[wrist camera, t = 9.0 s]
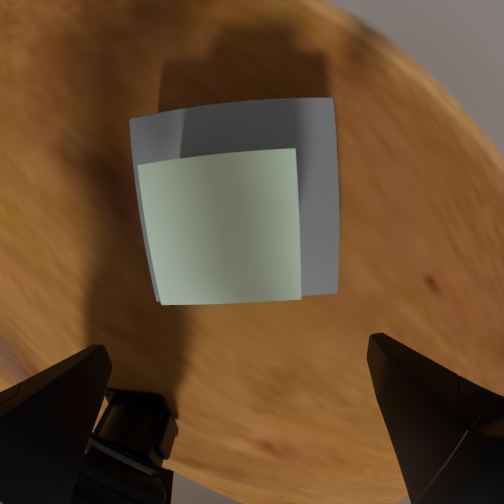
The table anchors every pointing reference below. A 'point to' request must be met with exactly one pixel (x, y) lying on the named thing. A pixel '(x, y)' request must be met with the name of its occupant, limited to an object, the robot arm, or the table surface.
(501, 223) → the table surface
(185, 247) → the green cube
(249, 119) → the base block
